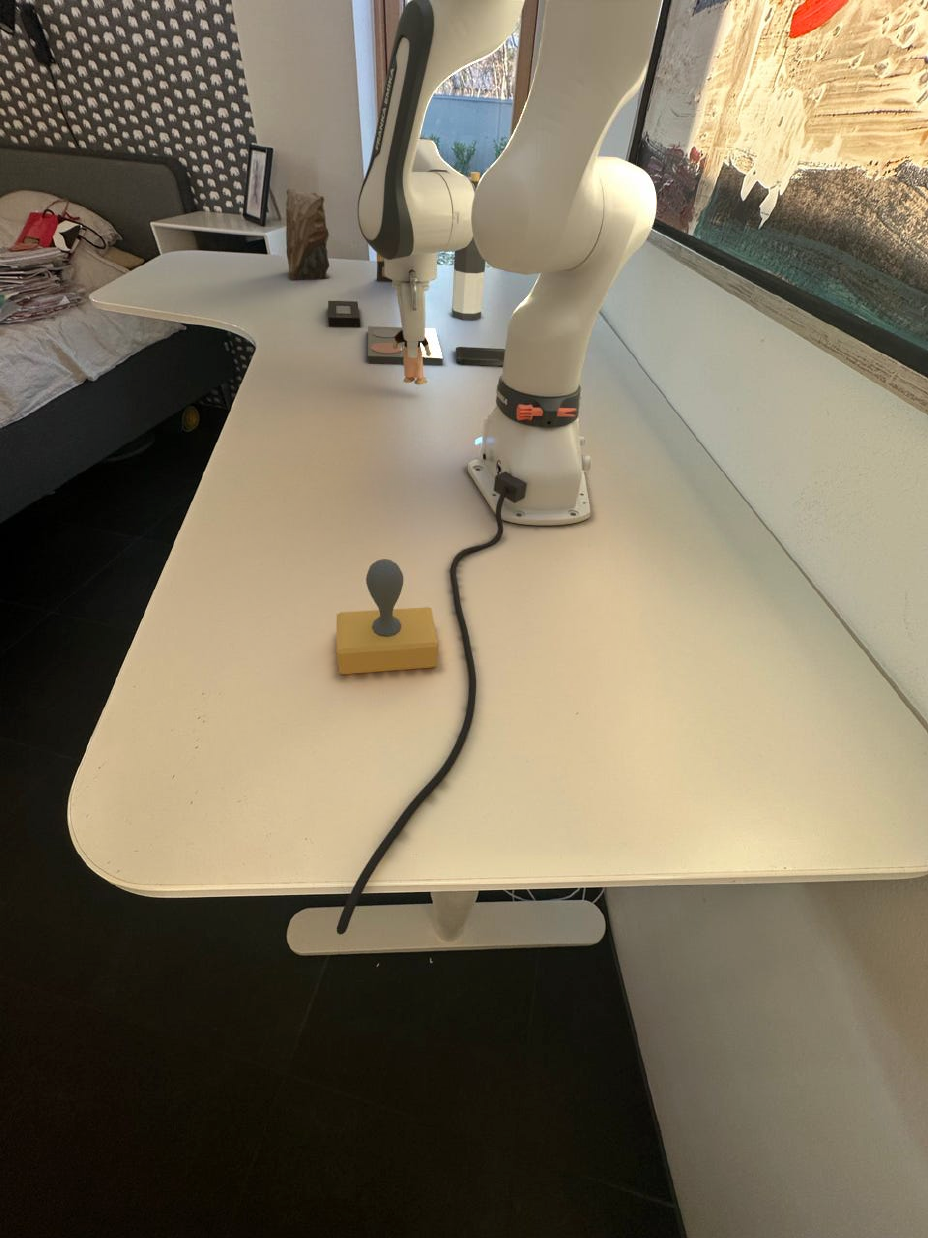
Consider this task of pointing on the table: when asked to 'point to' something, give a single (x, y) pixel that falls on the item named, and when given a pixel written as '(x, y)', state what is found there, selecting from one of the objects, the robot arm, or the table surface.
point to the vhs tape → (343, 313)
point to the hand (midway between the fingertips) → (411, 352)
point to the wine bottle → (468, 277)
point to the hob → (386, 354)
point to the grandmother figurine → (413, 360)
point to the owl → (306, 236)
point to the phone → (480, 356)
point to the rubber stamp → (386, 629)
